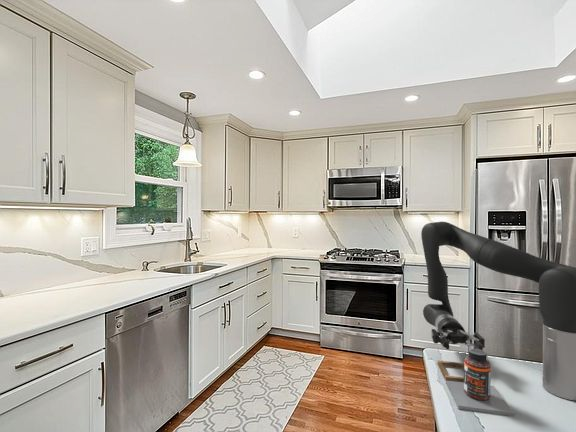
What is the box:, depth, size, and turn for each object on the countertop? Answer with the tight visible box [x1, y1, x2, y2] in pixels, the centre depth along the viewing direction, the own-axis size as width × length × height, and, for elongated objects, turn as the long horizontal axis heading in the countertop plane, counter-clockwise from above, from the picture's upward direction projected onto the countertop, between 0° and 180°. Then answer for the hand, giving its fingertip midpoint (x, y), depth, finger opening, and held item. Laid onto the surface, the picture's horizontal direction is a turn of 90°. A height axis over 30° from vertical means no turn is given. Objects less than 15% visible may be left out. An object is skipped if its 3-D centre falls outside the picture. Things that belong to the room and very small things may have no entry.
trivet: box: [445, 381, 515, 417], centre depth 82 cm, size 12×12×1 cm
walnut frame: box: [436, 360, 464, 383], centre depth 94 cm, size 10×10×1 cm
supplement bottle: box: [463, 347, 492, 400], centre depth 82 cm, size 6×6×11 cm
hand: (463, 347), depth 93 cm, fingers open, 8 cm apart
